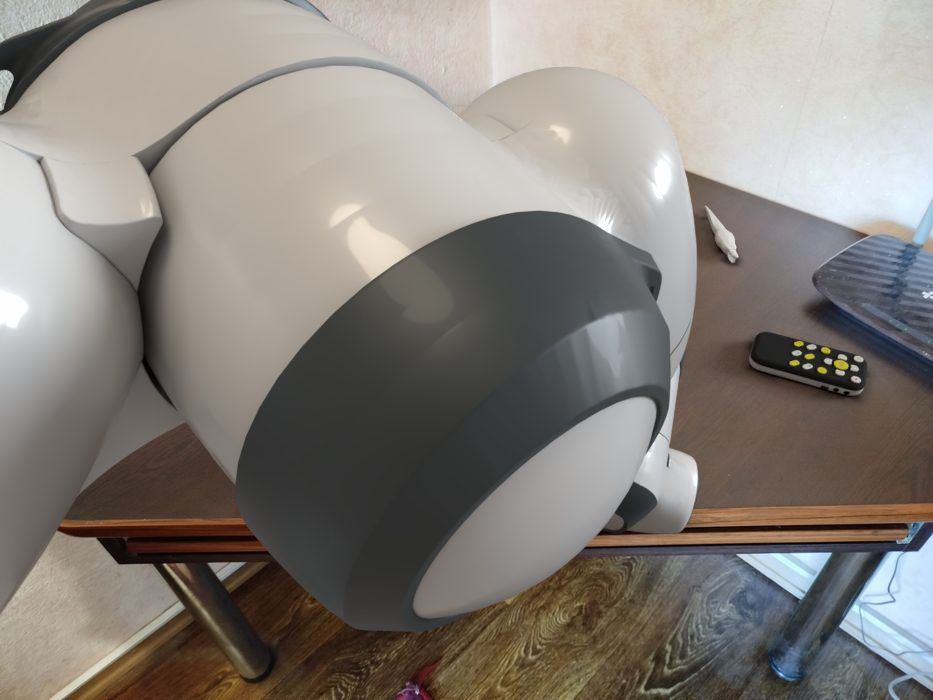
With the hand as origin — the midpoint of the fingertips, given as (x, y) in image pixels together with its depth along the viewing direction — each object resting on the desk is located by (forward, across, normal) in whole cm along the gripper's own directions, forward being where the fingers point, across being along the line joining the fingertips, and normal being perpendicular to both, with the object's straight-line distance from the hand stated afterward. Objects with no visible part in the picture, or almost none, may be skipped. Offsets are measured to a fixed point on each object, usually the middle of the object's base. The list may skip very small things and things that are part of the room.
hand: (390, 432), depth 66 cm
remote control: (-43, -27, +7) cm, 51 cm away
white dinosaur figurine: (-32, -54, +7) cm, 63 cm away
